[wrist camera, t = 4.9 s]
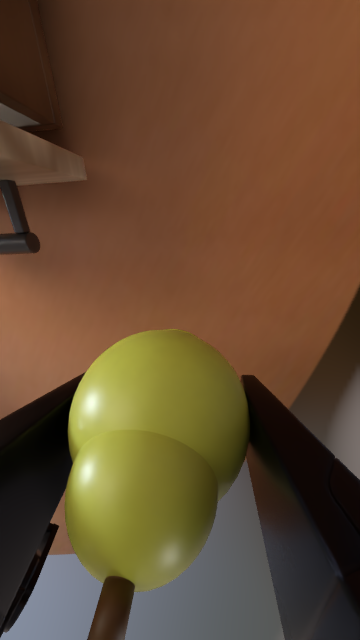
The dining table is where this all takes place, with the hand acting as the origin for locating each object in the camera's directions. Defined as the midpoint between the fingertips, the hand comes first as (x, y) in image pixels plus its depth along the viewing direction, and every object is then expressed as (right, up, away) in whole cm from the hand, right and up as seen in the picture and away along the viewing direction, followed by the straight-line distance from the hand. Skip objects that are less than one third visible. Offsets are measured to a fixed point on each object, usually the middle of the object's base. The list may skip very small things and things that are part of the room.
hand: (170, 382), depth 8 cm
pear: (0, 0, +1) cm, 1 cm away
